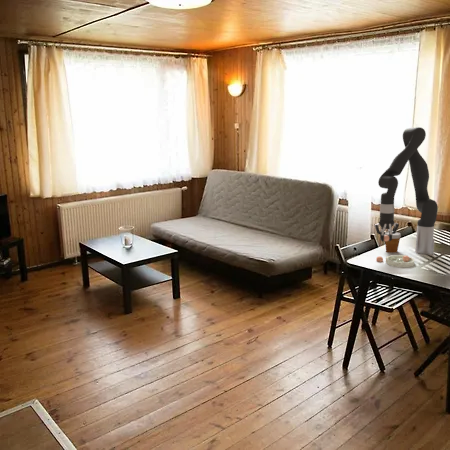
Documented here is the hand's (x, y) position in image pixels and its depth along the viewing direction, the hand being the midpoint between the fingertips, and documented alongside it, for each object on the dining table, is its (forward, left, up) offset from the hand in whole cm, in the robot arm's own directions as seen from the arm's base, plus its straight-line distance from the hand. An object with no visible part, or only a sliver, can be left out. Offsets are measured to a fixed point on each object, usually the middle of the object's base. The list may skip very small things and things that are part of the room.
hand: (385, 240), depth 267 cm
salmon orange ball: (-9, +7, -10) cm, 16 cm away
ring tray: (-6, +9, -11) cm, 15 cm away
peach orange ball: (+4, +5, -11) cm, 13 cm away
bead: (0, 0, 0) cm, 0 cm away
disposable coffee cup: (-9, -14, -12) cm, 20 cm away
